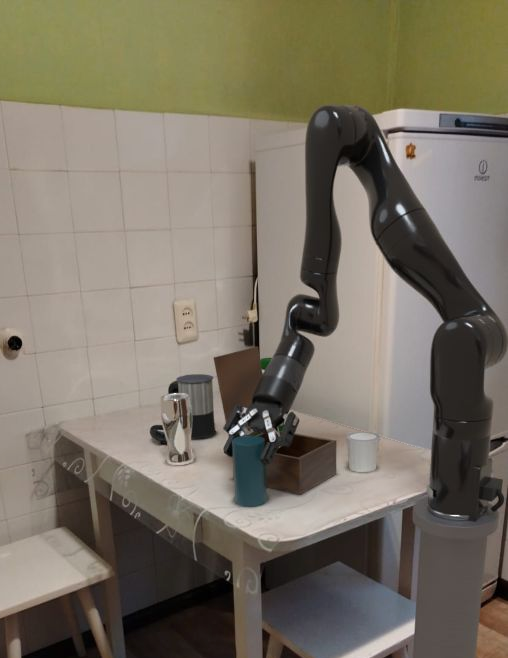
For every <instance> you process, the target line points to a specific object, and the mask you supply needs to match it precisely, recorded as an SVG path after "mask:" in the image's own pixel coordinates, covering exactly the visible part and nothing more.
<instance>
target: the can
mask: <svg viewBox="0 0 508 658" xmlns="http://www.w3.org/2000/svg"><path fill="white" fill-rule="evenodd" d="M264 449H265V440H264V438H262V437H259V436H241V437H237V438H234V439H233V440H232V453H233V463H232V473H233V472H234V479H233V486H234V487H233V489H234V502H235V504H236V505H238V506H240V507H249V508H250V507H251V508H252V507H259V506H261V505H264V504H266V502H267V501H268V500H267V487H266V469H265V465H264V464H263V463H262V462H261V461H260V457H261V455H262V453H263V451H264Z"/></svg>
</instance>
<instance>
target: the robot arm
mask: <svg viewBox="0 0 508 658" xmlns="http://www.w3.org/2000/svg"><path fill="white" fill-rule="evenodd" d="M306 126H307V127H306V131H305V139H304V141H305V142H304V179H305V180H304V184H305V185H304V188H305V189H304V190H305V191H304V193H305V226H304V228H305V229H304V239H303V240H304V241H303V247H302V255H301V262H300V269H299V279H300V282H301V283H302V284H303V285H304V286H306V287H308V288H310V289H311V290H313V291H315V292H316V293H317V295H318V297H317V296H312V295H309V294H305V293H304V294H303V293H299V294H296V295H294V296H292V297H291V298H290V300H289V301H288V303H287V305H286V308H285V314H284V316H285V317H284V321H283V322H284V323H283V328H282V332H281V336H280V340H279V343H278V344H277V347H276V349H275V350H274V353H273V355H272V357H271V358H272V359H271V361H270V362H269V364H268V365H267V367H266V369H265V371H264V373H263V375H262V377H261V379H260V381H259V384H258V386H257V388H256V390H255V392H254V394H253V398H252V404H251V405H250V406H249V407H248V408H244V407H242V406H241V405H240V404H236V405H235V407H234V409H233V411H232V412H231V414H230V416H229V418H228V420H227V422H226V421H225V423H224V425H223V427H222V428H223V431H225V432H226V434H227V435H228V434H229V436H228V437H227V439H226V442H225V444H224V446H223V454H224V455H225V456H226V457H228V458H232V456H233V453H232V440H233V439H234V438H237V437H241V436H245V435H249V434H251V433H252V432H253V431H254V432H256V433H259V432H262V433H264V434H268V435H269V439H270V442H267V444H266V446H265V449H264V451H263V453H262V455H261V457H260V461H261V462H262V463H263V464H264V465H268V464H269V463H271V462H272V460H273V458H274V456H275V454H276V451H277V449H278V448H280V447H281V446H286V447H289V446H290V444H291V442H292V439H293V437H294V434H296V431H297V429H298V426H299V423H300V419H299V417H298V416H297V415H296V413H295V412H294V411H291V409H292V406H293V404H294V402H295V400H296V397H297V396H298V393H299V391H300V389H301V387H302V384H303V382H304V379H305V375H306V373H307V370H308V368H309V366H310V363H311V362H312V360H313V357H314V354H315V352H316V351H315V350H316V348H315V344H314V342H313V341H312V340H310V339H309V338H308V337H306V336H305V335H303V334H301V333H300V332H302V333H306V334H309V335H313V336H317V337H321V338H327V337H330V336H331V335H333V334H334V332H335V331H336V330H337V328H338V325H339V323H340V305H339V297H338V282H337V280H338V271H339V266H340V260H341V259H340V258H341V253H342V246H343V237H342V230H341V225H340V222H339V217H338V215H337V211H336V205H335V198H334V189H335V188H334V186H335V179H336V175H337V170H338V167H348V168H349V169H350V170H351V171H352V172H353V174H354V175H355V176H356V178H357V179H358V181H359V182H360V184H361V186H362V188H363V190H364V191H365V193H366V197H367V200H368V201H367V202H368V224H369V229H370V234H371V237H372V239H373V241H374V243H375V245H376V246H377V248H378V250H379V252H380V253H381V255H382V257H383V258H384V260H385V262H386V263H387V264H388V266H389V268H390V269H391V270H392V271H393V273H395V274H396V276H398V278H400V279H401V281H403V282H405V283H406V284H407V285H408V286H409V287H410V288H412V289H413V290H414V291H416V292H417V293H418V294H419V295H420V296H422V297H423V298H424V299H425V300H426V301H427V302H428V303H429V304H430V305H431V306H432V307H433V308H434V310H435V311H436V313H437V314H438V315H439V317H440V319H441V321H442V323H441V324H440V325H439V326H438V327H437V328H436V330H435V332H434V333H433V337H432V341H431V345H430V354H429V355H430V356H429V357H430V358H429V361H430V362H429V394H430V398H431V401H432V404H433V416H432V417H433V420H432V431H431V432H432V434H431V446H430V447H431V448H430V462H429V463H430V467H429V479H428V483H426V489H425V490H426V492H427V494H428V496H427V497H428V503H427V510H428V511H429V512H430V513H431V514H433V515H434V516H437V517H439V518H443V519H447V520H454V521H473V522H476V521H477V520H478V519H479V518H480V517H481V516H483V514H484V513H485V512H486V511H487V510H488V503H489V502H493V501H494V500H495V499H498V500H497V502H496V503H495V504H494V505H493V507H492V508H491V510H492V511H493V512H495V511H496V510H499V509H500V508H501V507H503V505H504V503H505V497H504V496H505V495H504V493H503V482H504V480H503V478H497V477H493V476H492V470H493V462H494V461H493V458H492V457H490V450H491V439H492V438H491V437H492V429H493V420H494V419H493V418H494V417H493V416H494V409H495V401H494V399H493V398H492V397H491V396H490V395H488V394H486V392H485V372H486V370H488V369H492V368H494V367H495V366H497V365H499V363H501V362H502V361H503V360H504V358H505V357H506V355H507V353H508V331H507V328H506V326H505V325H504V323H503V321H502V319H501V318H500V317H499V315H498V314H497V313H496V311H495V310H494V309H493V308H492V307H491V306H490V304H489V303H488V302H487V300H485V298H484V296H482V295H481V293H480V292H479V290H478V289H477V288H476V287H475V286H474V284H473V283H472V282H471V280H470V279H469V277H468V276H467V275H466V273H465V272H464V269H463V268H462V266H461V264H460V263H459V261H458V259H457V257H456V256H455V254H454V253H453V251H452V250H451V248H450V247H449V245H448V244H447V242H446V241H445V239H444V238H443V236H442V234H441V232H440V231H439V229H438V227H437V226H436V224H435V221H434V220H433V219H432V217H431V215H430V214H429V212H428V211H427V209H426V208H425V206H424V205H423V204H422V203H421V201H420V200H419V198H418V197H417V194H416V193H415V191H414V189H413V188H412V186H411V184H410V182H409V181H408V180H407V178H406V176H405V174H404V173H403V172H402V170H401V168H400V166H399V165H398V163H397V162H396V161H397V160H395V158H394V156H393V154H392V151H391V149H390V147H389V145H388V143H387V140H386V139H385V137H384V134H383V132H382V130H381V128H380V126H379V124H378V122H377V120H376V118H375V116H374V115H372V113H371V112H370V111H369V110H368V109H367V108H365V107H363V106H361V105H358V104H357V105H356V104H324V105H321V106H320V107H318V108H316V109H315V110H314V111H313V112H312V114H311V116H310V117H309V119H308V123H307V125H306ZM247 423H248V426H249V427H246V426H245V424H247ZM282 423H284V426H283V429H282V432H281V434H280V433H279V429H278V426H280V425H281V424H282ZM232 424H233V425H232ZM231 426H232V427H231ZM240 430H241V431H240ZM239 431H240V432H239ZM237 432H239V433H237Z"/></svg>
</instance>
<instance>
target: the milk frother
mask: <svg viewBox="0 0 508 658" xmlns="http://www.w3.org/2000/svg"><path fill="white" fill-rule="evenodd" d="M213 379H214V376H213V375H210V374H206V373H205V374H203V373H194V374H192V373H191V374H184V375H180V376H178V377H176V380H174V381H172V382H171V383H170V384H169V385H168V389H167V390H168V391H167V394H171V393H186V394H189V395H190V400H191V406H192V415H193V423H192V434H191V440H201V439H207V438H211V437H213V436H215V435H216V434H217V431H216V425H215V413H214V411H215V409H214V390H213V389H214V385H213ZM149 435H150V436H151V438H153V439H154V441H157V442H159V443H160V444H162V443H166V444H167V441H166V437H165V433H164V430H163V425H162V424H153V425H152V426H151V427H150V428H149Z"/></svg>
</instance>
